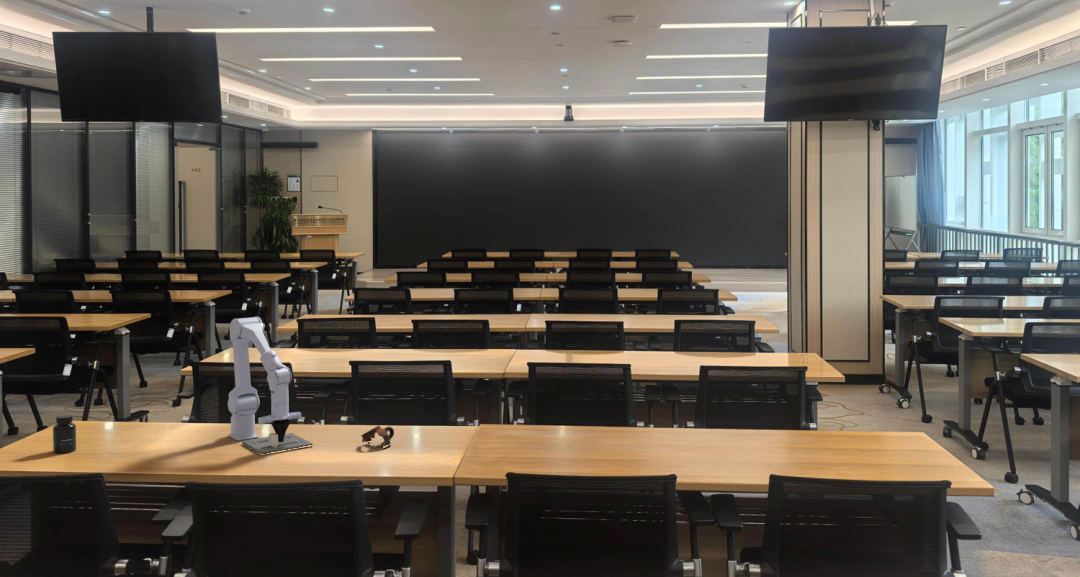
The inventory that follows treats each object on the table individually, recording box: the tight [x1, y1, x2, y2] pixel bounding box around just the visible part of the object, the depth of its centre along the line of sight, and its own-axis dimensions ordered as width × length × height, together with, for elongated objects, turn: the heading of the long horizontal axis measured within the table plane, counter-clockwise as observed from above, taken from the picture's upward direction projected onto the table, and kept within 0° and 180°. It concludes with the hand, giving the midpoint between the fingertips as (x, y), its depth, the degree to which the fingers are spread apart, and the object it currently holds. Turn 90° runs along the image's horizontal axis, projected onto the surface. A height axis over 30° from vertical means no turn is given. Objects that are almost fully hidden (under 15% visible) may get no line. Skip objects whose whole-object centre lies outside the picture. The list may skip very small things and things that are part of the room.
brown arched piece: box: [361, 425, 395, 447], centre depth 288 cm, size 12×10×8 cm
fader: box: [268, 432, 278, 447], centre depth 281 cm, size 3×2×4 cm, turn 40°
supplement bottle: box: [52, 414, 77, 455], centre depth 277 cm, size 7×7×12 cm
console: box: [241, 432, 313, 454], centre depth 286 cm, size 18×18×1 cm
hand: (280, 441), depth 283 cm, fingers closed
